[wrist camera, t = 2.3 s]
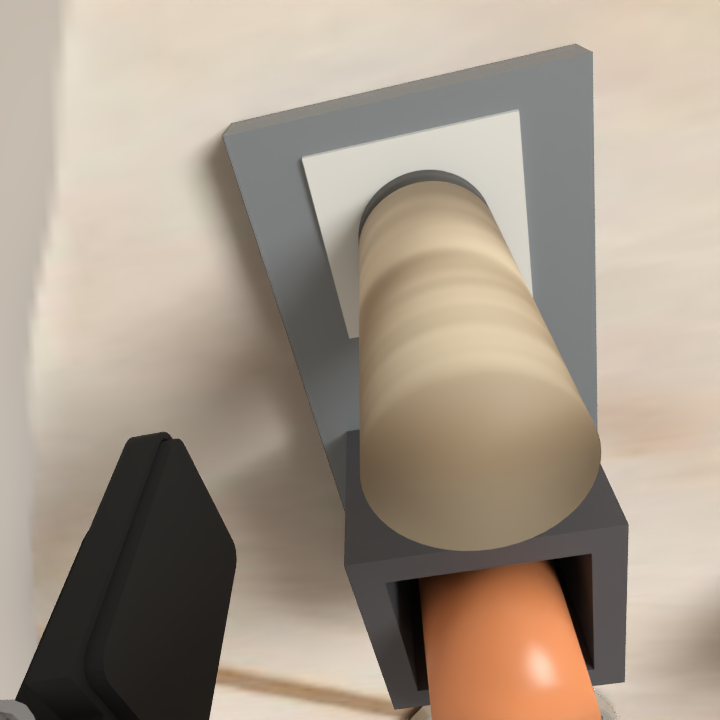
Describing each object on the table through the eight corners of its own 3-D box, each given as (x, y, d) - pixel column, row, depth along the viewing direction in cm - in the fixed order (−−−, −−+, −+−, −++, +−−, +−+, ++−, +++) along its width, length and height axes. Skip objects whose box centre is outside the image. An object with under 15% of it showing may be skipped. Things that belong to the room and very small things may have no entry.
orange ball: (556, 607, 23) (601, 757, 19) (429, 624, 23) (445, 774, 19) (550, 520, 20) (600, 671, 16) (407, 541, 21) (420, 692, 17)
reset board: (588, 542, 29) (652, 708, 23) (373, 573, 30) (378, 740, 24) (576, 43, 18) (695, 102, 11) (231, 123, 19) (169, 216, 13)
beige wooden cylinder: (499, 282, 20) (601, 533, 12) (373, 306, 20) (384, 564, 12) (485, 155, 18) (600, 351, 9) (344, 185, 18) (335, 398, 10)
